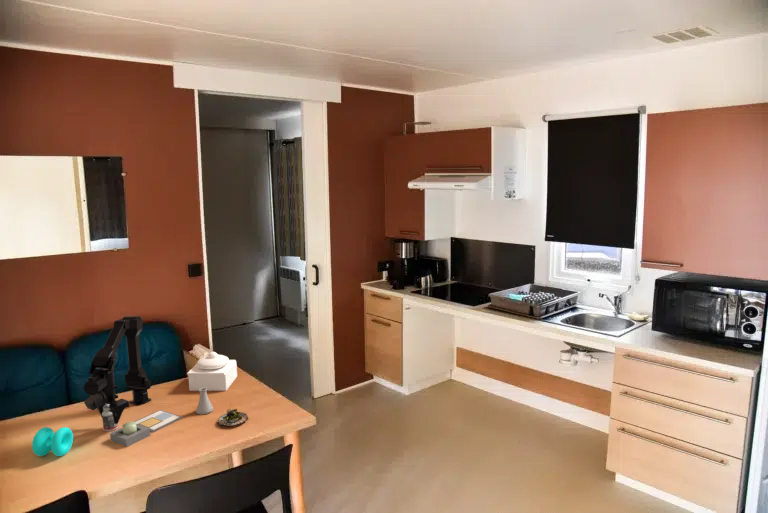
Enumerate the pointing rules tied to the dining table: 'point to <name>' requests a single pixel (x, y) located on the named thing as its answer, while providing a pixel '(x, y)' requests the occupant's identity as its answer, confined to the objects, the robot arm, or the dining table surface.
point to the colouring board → (158, 420)
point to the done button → (129, 428)
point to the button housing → (130, 436)
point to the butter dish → (212, 373)
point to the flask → (204, 403)
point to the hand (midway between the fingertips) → (110, 421)
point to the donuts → (52, 441)
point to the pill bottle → (108, 419)
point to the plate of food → (232, 417)
